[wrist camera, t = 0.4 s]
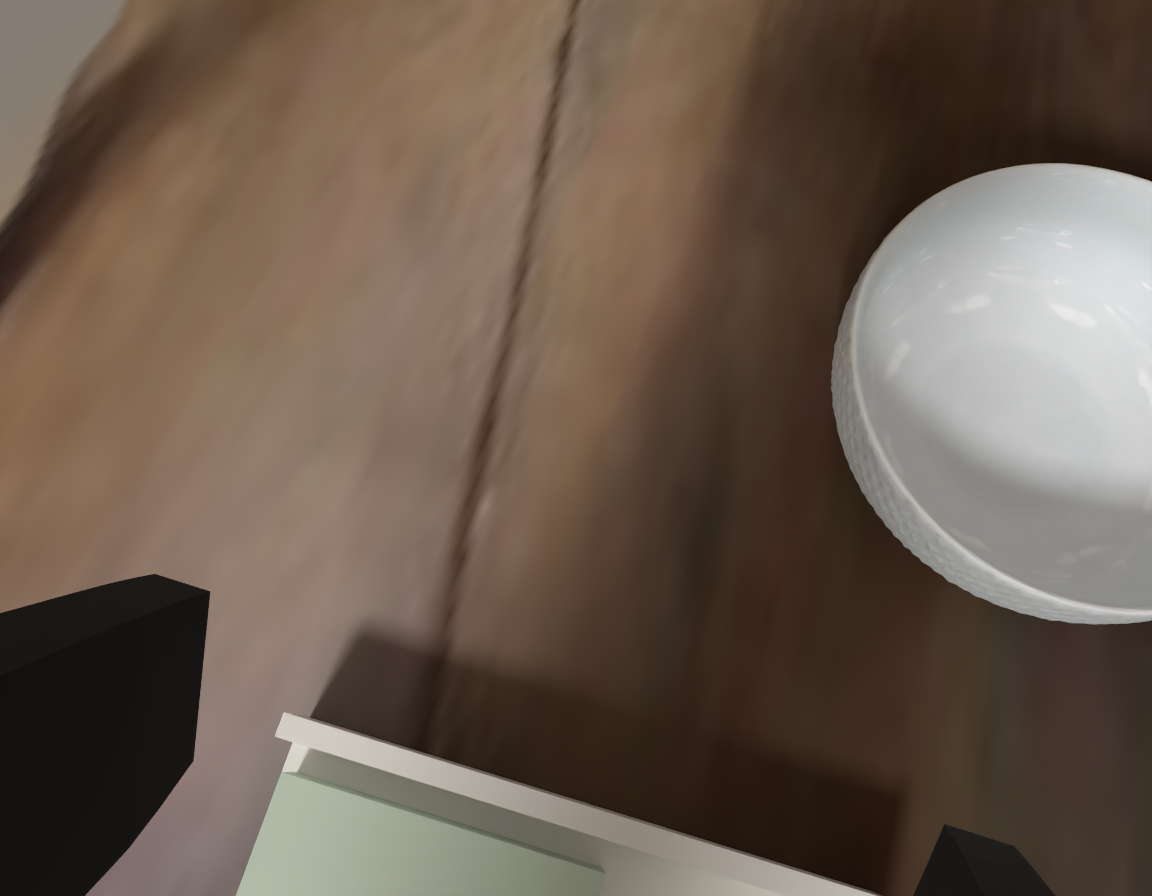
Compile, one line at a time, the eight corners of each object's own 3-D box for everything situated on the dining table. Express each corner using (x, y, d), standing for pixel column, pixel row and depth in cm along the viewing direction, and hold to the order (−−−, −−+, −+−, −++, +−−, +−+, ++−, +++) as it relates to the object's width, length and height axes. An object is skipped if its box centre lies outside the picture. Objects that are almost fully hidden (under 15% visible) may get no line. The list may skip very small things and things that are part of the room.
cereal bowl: (798, 627, 36) (855, 595, 29) (796, 243, 41) (844, 142, 35) (1241, 659, 36) (1399, 636, 29) (1182, 272, 41) (1305, 177, 35)
